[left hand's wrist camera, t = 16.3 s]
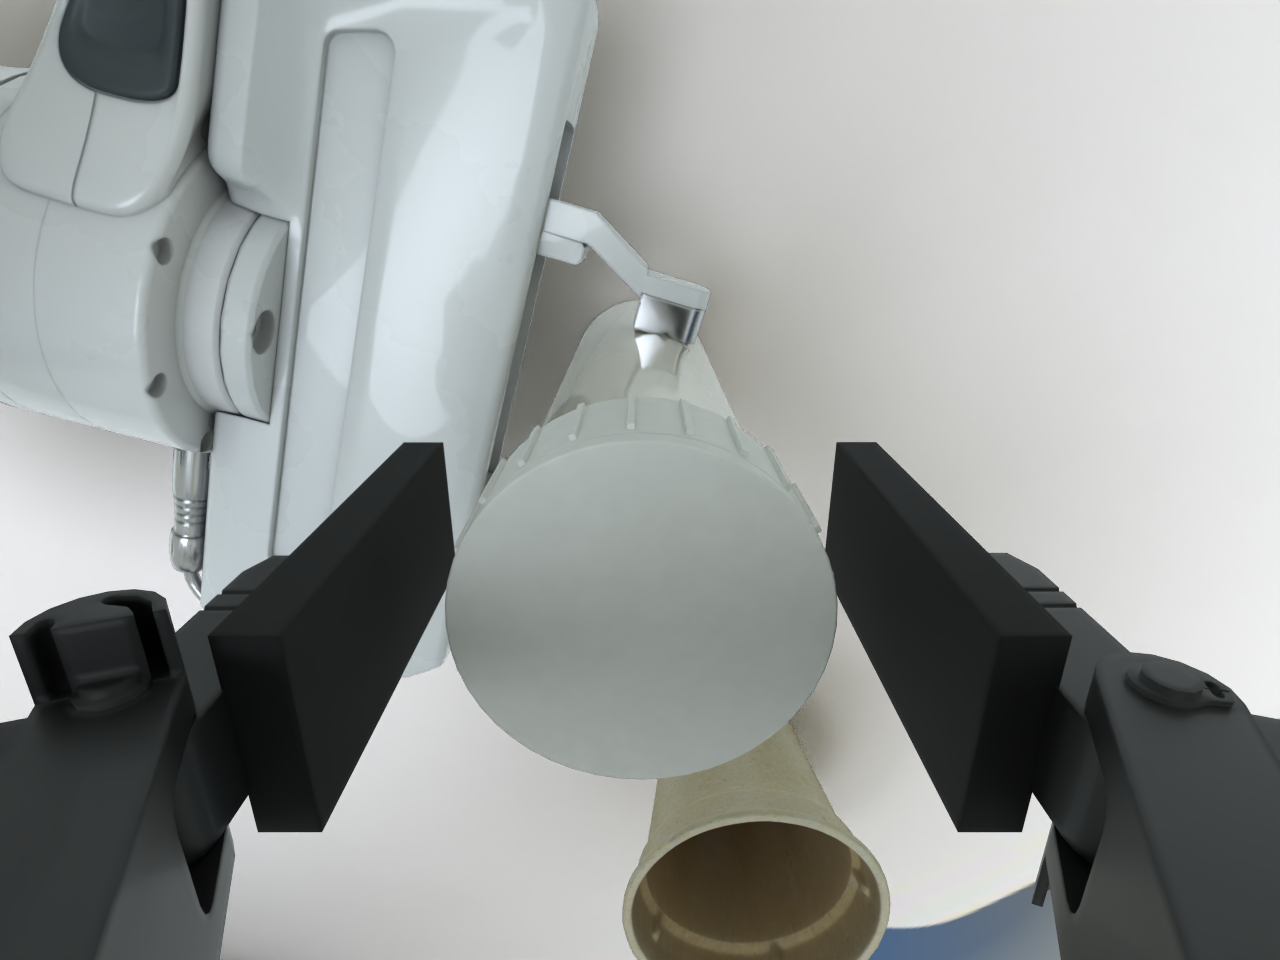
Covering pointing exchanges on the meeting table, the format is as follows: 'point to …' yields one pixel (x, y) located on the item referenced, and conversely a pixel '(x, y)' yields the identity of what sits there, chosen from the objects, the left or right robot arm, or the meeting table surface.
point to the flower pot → (753, 867)
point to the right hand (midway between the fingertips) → (670, 418)
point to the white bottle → (636, 367)
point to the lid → (641, 591)
